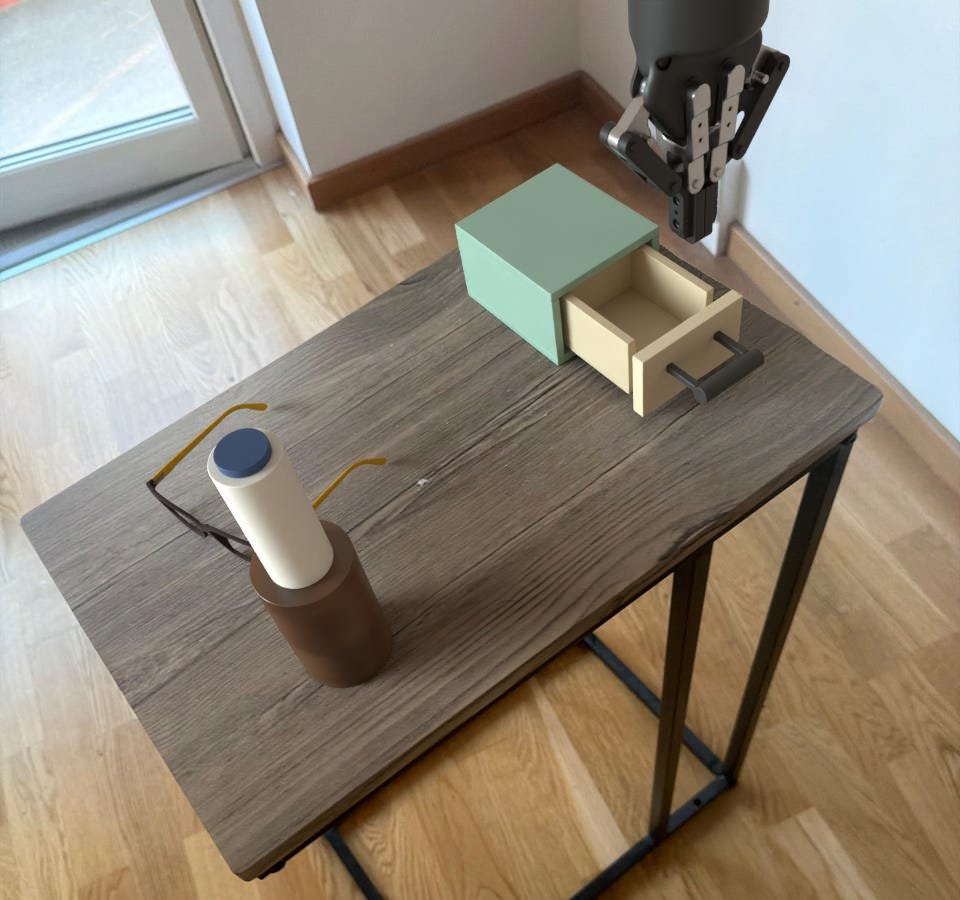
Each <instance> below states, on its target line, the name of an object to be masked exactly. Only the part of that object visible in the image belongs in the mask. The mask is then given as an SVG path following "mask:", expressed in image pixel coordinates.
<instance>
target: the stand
mask: <svg viewBox="0 0 960 900" xmlns="http://www.w3.org/2000/svg"><path fill="white" fill-rule="evenodd" d="M318 519H319V521H320V523H321V525H322V527H323V530H324V532H325V534H326V536H327V538H328V540H329V542H330V544H331V546H332V549H333V562H332V565H331V567H330V569H329V571H328V572H327V573H326V574H325V576H324V577H323V578H321V579H320V580H319V581H317V582H316V583H314V584H312V585H310V586H307V587H304V588H299V589H289V588H285V587H282V586H280V585H278V584H276V583H275V582H274V581H273V580H272V579H271V577H270V575H269V574H268V572H267V570H266V569H265V567H264V565H263V564H262V562H261V560H260V559H259V557H258V555H257V554H256V552H255V551H254V553H253V555H252V557H251V558H252V559H251V562H249V568H248V569H249V570H248V573H249V576H248V577H249V580H250V584H251V586H252V589H253V590H254V592H255V593H256V595H257V597H258V598H259V600H260V601H261V603H262V605H263V606H264V608H265V609H266V610H267V611H266V612H268V614H269V615H270V617H271V618H272V620H273V621H274V623H275V625H276V627H277V628H278V630H279V631H280V633H281V634H282V636H283V637H284V639H285V640H286V642H287V644H288V645H289V647H290V649H291V650H292V651H293V653H294V654H295V656H296V657H297V659H298V661H299V662H300V664H301V666H302V667H303V668H304V670H305V672H306V673H307V675H309V677H310V678H311V679H312V680H314V681H315V682H317V683H318V684H320V685H323V686H325V687H329V688H335V689H345V688H351V687H355V686H358V685H361V684H364V683H365V682H367V681H368V680H370V679H372V678H373V677H375V676H376V675H377V674H378V673H379V672H380V671H381V670H382V669H383V668H384V666H385V665H386V663H387V661H388V660H389V657H390V656H391V653H392V650H393V633H392V629H391V627H390V625H389V622H388V620H387V618H386V616H385V614H384V611H383V609H382V607H381V605H380V602H379V599H378V598H377V596H376V594H375V591H374V589H373V586H372V584H371V583H370V580H369V578H368V575H367V573H366V571H365V569H364V567H363V564H362V562H361V560H360V558H359V556H358V553H357V551H356V549H355V547H354V544H353V542H352V539H351V538H350V536H349V534H348V533H347V532H346V531H345V530H344V529H343V528H342V527H341V526H339V525H338V524H335V523H334V522H331V521H329V520H325V519H321V518H318Z"/></svg>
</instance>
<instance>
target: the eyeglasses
mask: <svg viewBox="0 0 960 900" xmlns="http://www.w3.org/2000/svg"><path fill="white" fill-rule="evenodd" d="M244 409H245V410H246V409H247V410H254V411H260V412H263V411H266V410H267V409H268V404H267V403H265V402H263V403H262V402H258V403H257V402H253V403H239V404H236V405H234V406H231V407H230V408H228V409H227V410H225V411H224V412H223V413H221V415H219V416H218V417H217V418H216V419H215V420H214V421H213V422H212V423H210V424H209V425H208V426H207V427H206V428H205V429H204V430H203V431H202V432H200V433H199V434H198V435H197V436H196V437H195V438H194V439H192V440H191V441H190V442H189V443H188V444H187V445H186V446H185V447H184V448H183V449H181V450H180V451H179V452H178V453H177V454H176V455H175V456H174V457H172V458H171V460H169V461H168V462H167V463H166V464H165V465H164V466H163V467H162V468H161V469H160V470H158V471H157V473H156V474H155V475H153V477H151V478H150V479H149V480H148V481H146V482H145V486H146V487H147V489H148V490H149V492H150V493H151V494H152V495H153V497H155V499H156V500H157V501H158V502H160V504H162V505H163V507H165V508H166V509H167V510H168V511H169V512H171V514H172V515H173V516H174V517H175V518H177V519H178V521H180V522H181V523H182V524H183V525H184V526H185V527H186V528H188V529H189V530H190V531H192V532H194V533H196V534H197V535H199V536H200V537H202V538H204V539H205V538H207V537H208V536H209V535H210V536H212V538H213V539H215V540H216V541H217V542H218V543H219V544H220V545H221V546H223V547H224V548H225V549H227V551H229V552H230V553H231V554H233V555H235V556H236V557H238V558H241V559H243V560H244V561H246V562H249V563H251V559H252V557H249V555H248V556H247V554H246V555H245V554H244V553H242V552H240V551H239V550H237V549H236V548H234V546H232V544H231V542H230V541H229V540H231V541H233V542H235V543H238V544H241V545H242V546H246V547H248V548H251V549H253V547H252V545H251V544H250V542H249V541H248V540H246V539H244V538H241V537H238V536H235V535H233V534H230V533H228V532H226V531H224V530H222V529H220V528H218V527H214V526H212V525H210V524H209V523H202V522H201V521H200V520H199V519H198V518H197V517H195V516H194V515H193V514H190V513H189V512H187V511H186V510H184V509H183V508H181V507H180V506H178V505H176V504H175V503H173V502H172V501H170V500H169V499H167V498H165V497H164V496H163V495H162V494H161V493H160V492H159V491H158V490H156V487H157V486H158V485H159V484H160V483H161V482H162V481H163V480H164V479H165V478H166V477H167V476H168V475H169V474H170V473H171V472H172V471H173V470H174V469H175V468H176V466H177V465H178V464H180V462H181V461H182V460H183V459H184V458H185V457H187V456H188V455H189V454H190V453H191V452H192V450H194V449H195V448H196V447H197V446H198V445H199V444H200V443H201V442H202V441H203V440H204V439H205V438H206V437H208V435H209V434H211V432H213V430H214V429H216V427H218V425H219V424H220V423H221V422H223V420H225V419H226V417H228V416H229V415H232V413H234V412H236V411H239V410H244ZM387 461H388V460H387V458H386V457H384V456H381V457H379V456H378V457H372V458H363V459H360V460H358V461H356V462H354V463H352V464H351V465H350V466H349V467H348V468H346V469H345V470H343V472H342V473H341V474H340V475H339V476H338V477H337V478H336V479H335V480H334V481H333V482H332V483H331V484H330V485H329V486H328V487H327V489H325V490H324V491H323V492H322V493H321V494H320V495H319V496H318V497H317V498H316V499H315V500H314V501H313V502H312V503H311V505H312V507H313V509H314V511H315V510H316V509H318V508H319V506H320V505H322V503H323V502H324V501H325V500H326V499H327V498H328V497H329V496H330V495H331V493H332V492H333V491H334V490H335V489H336V488H337V487H338V486H339V485H340V483H342V481H343V480H344V479H345V478H346V477H347V476H348V475H349V474H350V473H352V472H353V471H354V470H355V469H357V468H358V467H360V466H363V465H372V466H373V465H374V466H383V465H386V463H387ZM183 516H184V517H185V518H184V517H183ZM186 518H187V519H189V520H190V521H191V522H192V523H193V524H195V526H194V525H192V524H191V523H189V521H187V520H186Z"/></svg>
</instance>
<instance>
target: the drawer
mask: <svg viewBox="0 0 960 900" xmlns="http://www.w3.org/2000/svg"><path fill="white" fill-rule="evenodd" d="M714 290H715V288H714V287H713V286H712V285H710V284H709V283H707V282H705V281H704V280H703V279H701V278H699V277H698V276H696V275H695V274H693V273H691V272H690V271H688V270H687V269H685V268H683V266H680V265H679V264H677V263H676V262H674V261H672V260H671V259H669V258H668V257H667V256H665V255H664V254H662V253H660V251H659V252H657V251H656V250H654V249H652V248H651V247H649V246H648V245H646V244H643V245H641V246H640V247H638V248H637V249H635V250H634V251H632V252H630V253H629V254H627V255H626V256H624V257H623V258H621V259H619V260H618V261H616V262H615V263H613V264H612V265H610V266H608V267H607V268H605V269H604V270H602V271H601V272H599V273H597V274H596V275H594V276H593V277H591V278H590V279H588V280H586V281H585V282H583V283H582V284H580V285H579V286H577V287H575V288H574V289H572V290H571V291H569V292H568V293H566V294H564V295H563V296H561V297H560V298H559V304H560V314H561V324H562V335H563V344H564V345H565V346H567V347H568V348H569V349H571V350H572V351H573V352H574V353H576V355H577V356H578V357H580V358H581V359H582V360H583V361H585V362H586V363H587V364H588V365H590V366H591V367H592V368H594V369H595V370H596V371H597V372H599V373H600V374H602V375H603V376H604V377H606V378H607V379H608V380H609V381H611V382H612V383H613V384H614V385H616V386H617V387H619V388H620V389H621V390H622V391H623V392H625V393H626V394H628V395H630V394H632V403H633V405H632V406H633V411H634V412H635V413H636V414H638V415H639V416H640V417H642V418H644V417H646V416H648V415H649V414H650V413H652V412H654V411H655V410H656V409H658V408H659V407H661V406H662V405H663V404H665V403H666V402H668V401H669V400H671V399H672V398H674V397H675V396H676V395H678V394H679V393H681V392H682V391H684V390H685V389H687V388H688V389H690V390H691V391H692V392H693V396H694V399H695V400H696V401H697V403H699V404H700V405H707V404H708V403H709V402H711V401H713V400H714V399H715V398H717V397H719V396H720V395H722V394H723V393H724V392H725V391H727V390H728V389H730V388H731V387H732V386H734V385H736V384H737V383H739V382H740V381H741V380H743V379H745V378H746V377H747V376H748V375H750V374H751V373H752V372H754V371H755V370H757V369H758V368H760V367H761V366H763V365H764V364H765V360H766V359H765V355H764V353H763V351H761V349H759V348H757V347H752V348H750V349H748V348H747V347H746V346H744V345H742V344H741V343H739V339H740V329H741V320H742V312H743V301H744V295H743V294H741V293H740V292H738V291H737V290H734V289H731V290H729V291H728V292H726V293H725V294H723V295H722V296H720V297H719V298H717V299H716V300H714V292H715V291H714ZM735 355H736V356H737V358H736V359H734V360H732V362H730V363H728V364H726V365H725V366H724V367H723V368H721V369H720V370H718V371H716V372H715V373H714V374H712V375H711V376H709V377H708V378H707V379H705V380H704V381H702V382H700V381H699V380H700V379H701V378H703V377H704V376H705V375H707V374H709V373H710V372H711V371H713V370H715V369H716V368H717V367H718V366H720V365H722V364H723V363H725V362H726V361H728V360H729V359H730V358H732V357H733V356H735Z"/></svg>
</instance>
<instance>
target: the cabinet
mask: <svg viewBox="0 0 960 900" xmlns="http://www.w3.org/2000/svg"><path fill="white" fill-rule="evenodd" d="M454 227H455V234H456V240H457V244H458V250H459V255H460V259H461V264H462V265H461V266H462V270H463V275H464V279H465V285H466V289H467V295H468V296H469V297H470V298H471V299H473V300H474V301H475V302H476V303H477V304H479V305H480V306H482V307H483V308H484V309H486V310H487V311H488V312H489V313H491V314H492V315H493V316H494V317H495V318H497V319H498V320H499V321H500V322H502V323H503V324H504V325H506V326H507V327H508V328H510V330H512V331H513V332H514V333H516V334H517V335H518V336H520V337H521V338H522V339H523V340H525V342H527V343H528V344H530V345H531V346H532V347H534V348H535V349H536V350H537V351H538V352H539V353H541V354H542V355H543V356H545V357H546V358H547V359H549V360H550V361H551V362H552V363H554V364H555V365H556V366H558V367H559V366H561V365H563V364H564V363H566V362H567V361H569V360H570V359H572V358H573V357H575V356H576V355H577V354H576V353H574V352H573V351H572V350H571V349H569V348H568V347H567V346H565V345H564V344H563V335H562V324H561V314H560V304H559V298H560V297H561V296H563V295H564V294H566V293H568V292H569V291H571V290H572V289H574V288H575V287H577V286H579V285H580V284H582V283H583V282H585V281H586V280H588V279H590V278H591V277H593V276H594V275H596V274H597V273H599V272H601V271H602V270H604V269H605V268H607V267H608V266H610V265H612V264H613V263H615V262H616V261H618V260H619V259H621V258H623V257H624V256H626V255H627V254H629V253H630V252H632V251H634V250H635V249H637V248H638V247H640V246H641V245H643V244H646V245H648V246H649V247H651V248H652V249H654V250H656V251H657V252H659V253H660V226H659V225H658V224H657V223H654V222H653V221H651V220H650V219H648V218H647V217H645V216H643V215H642V214H640V213H638V211H636V210H634V209H633V208H631V207H629V206H627V204H625V203H623V202H621V201H619V200H618V199H616V198H614V197H613V196H611V195H610V194H608V193H607V192H605V191H603V190H602V189H601V188H598V187H597V186H596V185H593V184H592V183H591V182H589V181H587V180H586V179H584V178H582V177H580V175H577V174H576V173H574V172H572V170H570V169H568V168H567V167H564V166H563V165H562V164H560V163H558V162H556V163H554V164H552V165H551V166H550V167H548V168H546V169H544V170H543V171H541V172H539V173H538V174H536V175H534V176H533V177H531V178H530V179H527V180H526V181H524V182H523V183H521V184H520V185H518V186H516V187H514V188H512V189H511V190H509V191H508V192H506V193H504V194H502V195H501V196H499V197H498V198H496V199H494V200H493V201H491V202H489V203H487V204H486V205H484V206H483V207H481V208H479V209H478V210H476V211H474V212H472V213H471V214H469V215H468V216H466V217H464V218H463V219H460V220H459V221H458V222H455V223H454Z"/></svg>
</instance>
